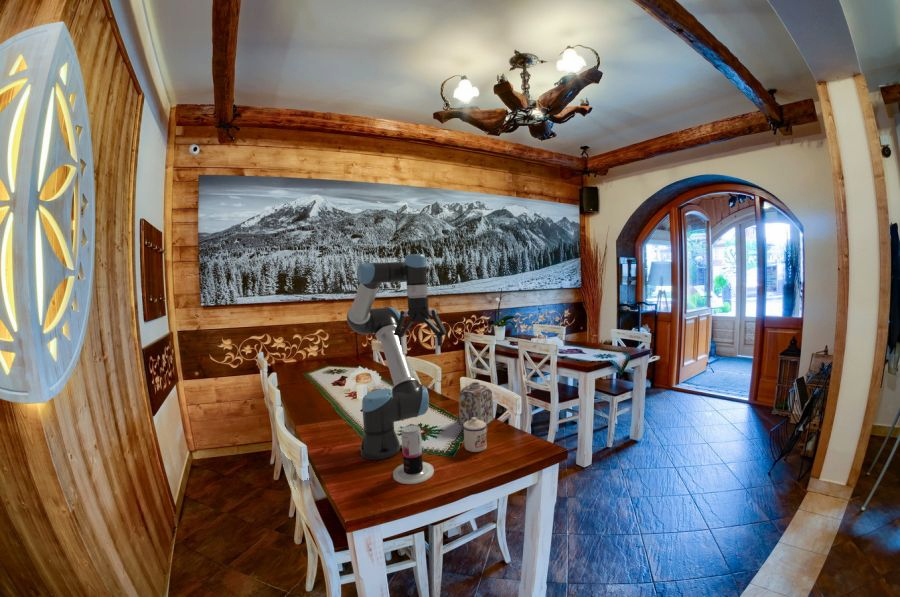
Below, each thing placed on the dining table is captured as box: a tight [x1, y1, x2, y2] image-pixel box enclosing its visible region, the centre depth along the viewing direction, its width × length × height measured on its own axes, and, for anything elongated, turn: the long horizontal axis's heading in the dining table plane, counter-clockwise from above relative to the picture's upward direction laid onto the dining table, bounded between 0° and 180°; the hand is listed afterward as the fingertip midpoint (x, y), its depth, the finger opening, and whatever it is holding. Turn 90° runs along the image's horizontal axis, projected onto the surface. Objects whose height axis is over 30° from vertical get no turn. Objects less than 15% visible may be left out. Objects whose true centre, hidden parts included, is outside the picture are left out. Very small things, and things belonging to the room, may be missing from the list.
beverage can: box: [400, 424, 424, 475], centre depth 128 cm, size 7×7×15 cm
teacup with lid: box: [462, 417, 488, 453], centre depth 146 cm, size 12×9×12 cm
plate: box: [392, 461, 435, 485], centre depth 128 cm, size 14×14×1 cm
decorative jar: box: [458, 381, 494, 426], centre depth 170 cm, size 12×12×18 cm
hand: (421, 354), depth 138 cm, fingers open, 13 cm apart
